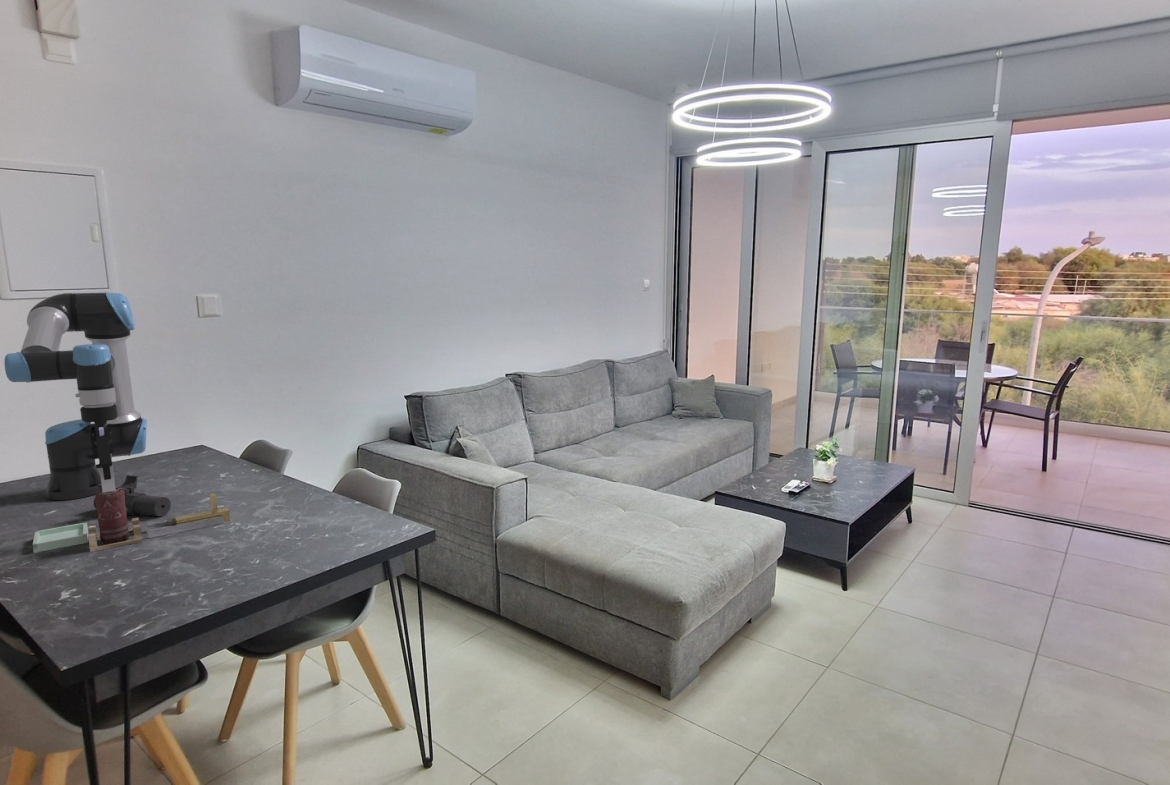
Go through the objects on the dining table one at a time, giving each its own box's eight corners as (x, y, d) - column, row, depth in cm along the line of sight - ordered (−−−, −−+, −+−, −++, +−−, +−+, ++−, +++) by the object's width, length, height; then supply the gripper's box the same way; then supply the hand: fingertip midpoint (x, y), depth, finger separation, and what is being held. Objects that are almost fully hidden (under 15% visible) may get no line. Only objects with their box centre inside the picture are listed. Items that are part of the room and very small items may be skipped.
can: (135, 538, 174) (129, 488, 172) (110, 547, 169) (103, 495, 166) (121, 534, 177) (115, 485, 174) (96, 543, 171) (89, 492, 169)
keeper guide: (146, 531, 179) (146, 524, 179) (220, 517, 190) (219, 510, 190) (148, 538, 175) (147, 531, 174) (223, 523, 185) (223, 516, 185)
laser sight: (149, 522, 186) (145, 489, 185) (85, 516, 191) (81, 483, 189) (177, 510, 196) (174, 478, 194) (115, 505, 200) (111, 473, 199)
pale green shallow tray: (36, 539, 174) (35, 531, 173) (88, 529, 180) (87, 522, 180) (33, 552, 165) (32, 544, 165) (87, 542, 172) (86, 534, 171)
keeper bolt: (168, 528, 181) (164, 501, 180) (228, 517, 190) (225, 491, 188) (169, 532, 179) (165, 504, 177) (230, 520, 187) (227, 493, 186)
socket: (90, 539, 173) (88, 525, 173) (139, 530, 180) (138, 516, 179) (90, 552, 166) (88, 537, 165) (142, 541, 172) (140, 527, 172)
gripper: (80, 399, 174) (90, 476, 177) (79, 414, 154) (90, 500, 158) (114, 396, 178) (124, 471, 182) (117, 410, 159) (128, 494, 162)
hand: (108, 484), depth 170 cm, fingers open, 13 cm apart
